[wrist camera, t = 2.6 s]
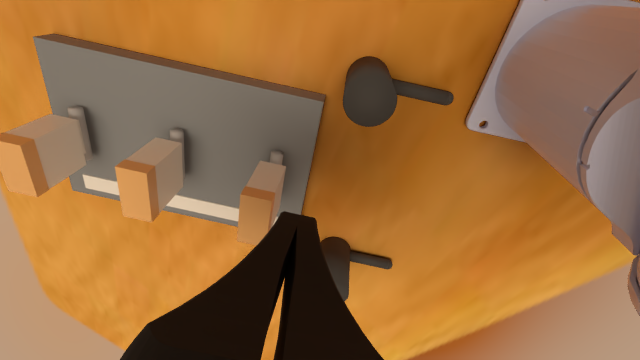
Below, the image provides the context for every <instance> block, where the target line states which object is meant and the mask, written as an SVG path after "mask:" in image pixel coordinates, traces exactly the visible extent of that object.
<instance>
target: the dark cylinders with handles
mask: <svg viewBox="0 0 640 360" xmlns="http://www.w3.org/2000/svg"><path fill="white" fill-rule="evenodd" d="M397 95H401V96H406V97H410V98H415V99H419V100H424V101H428V102H432V103H437V104H441V105H449V104H451V103H452V101H453V94H452V93H450V92H448V91H443V90H439V89H435V88H430V87H426V86H421V85H417V84H412V83H408V82H404V81H399V80H395V79H391V76H390V73H389V71H388V68H387V66H386V65H385V64H384V62H382V61H381V60H380V59H378V58H375V57H362V58H360V59H358V60H356V61H355V62H354V63H353V64H352V65H351V66H350V68H349V70H348V72H347V76H346V83H345V89H344V96H343V107H344V110H345V113H346V114H347V116H348V117H349V118H350V119H351V120H352V121H353V122H354V123H356V124H358V125H361V126H366V127H372V126H377V125H380V124H382V123H383V122H385V121H386V120H388V119H389V118H390V117H391V115H392V114H393V112H394V110H395V108H396V104H397ZM321 246H322V250H323V253H324V256H325V259H326V262H327V265H328V267H329V270H330V272H331V275H332V277H333V280H334V282H335V284H336V286H337V289H338V291H339V293H340V295H341V297H342V298H343V300H344V301H345V300H346V299H347V298H348V295H349V268H350V261H352V262H356V263H361V264H366V265H370V266H375V267H379V268H384V269H390V268H391V267H392V262H391V260H389V259H385V258H380V257H375V256H371V255H366V254H362V253H357V252H353V251H350V246H349V244H348V243H347V242H346V241H345V240H343V239H341V238H337V237H329V238H326V239H324V240H323V241H322V242H321Z"/></svg>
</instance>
